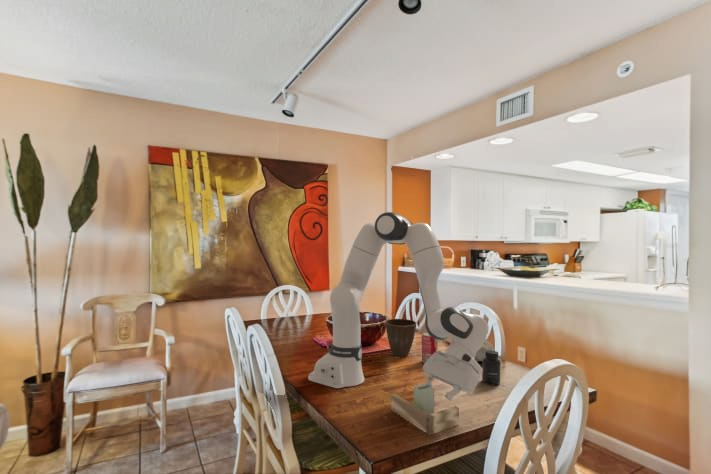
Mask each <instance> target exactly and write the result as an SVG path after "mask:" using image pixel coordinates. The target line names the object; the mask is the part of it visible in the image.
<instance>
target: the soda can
mask: <svg viewBox="0 0 711 474" xmlns="http://www.w3.org/2000/svg"><path fill="white" fill-rule="evenodd" d="M438 342H439V340H437V339H434V338H432V337H431V336H430V335H429V334H428V332H423V333H422V336H421V361H422V363H423V365H424V364H425V363H426V361H427V360H428V359H429V358H430V356H431V355H433V354H434V353H435V352H438V351H439V350H438V349H439V347H438Z"/></svg>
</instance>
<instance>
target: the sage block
mask: <svg viewBox="0 0 711 474" xmlns="http://www.w3.org/2000/svg"><path fill="white" fill-rule="evenodd" d="M413 405H415V406H416V407H418V408H420V409H421V410H423V411H425V412H427V413H428V414H433V413H435V388H434V387H433V386H432V387H431V386H429V385H426V383H423V384H417V385H414V386H413Z"/></svg>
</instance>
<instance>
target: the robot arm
mask: <svg viewBox="0 0 711 474" xmlns="http://www.w3.org/2000/svg"><path fill="white" fill-rule="evenodd" d="M386 244H389V245H406V246H407V249H408V251H409V254H410V256H411V259H412V264H413V266H414V271H415V274H416V278H417V283H418V287H419V288H418V289H419V291H420V296H421V299H422V303H423V308H424V315H425V320H424V325H425V326H424V327H425V330H426V333H428V334H429V335H430V336H431V337H432V338H434V339H437V340H438V341H443V340H446V339H448V338H449V339H450V340H451V342H450V344H449V345H448V347H447V349H446V351H445V352H443V351H441V350H438V352H435V353H434V354H433V355H431V356H430V358H429V359H428V360H427V361H426V363H425V364H424V363H423V365H422V371H423V373H425V374H426V382H425V384H426V385H429V386H431V387H432V388H433V385H432V381H434V380H439V381H440V382H442V383H444V384H446V385H449V386H450V387H451V386H452V389H451V390H450V391H446V393H445V395H444V398H446V399H447V400H448V401H452V400H453V399H454V397H455V396H458V394H460V393H461V392H465V393H466V394H472V392H474V390H475V389H476V387H477V384H478V382H479V379H480V375H482V372H483V370H482V366H481V365H480V364H479V363H478V361H475V360H474V358H475V356H476V352H477V351H478V350H479V349H480V348H481V346H482V345H483V343H484V341H485V339H486V340H487V336H488V333H489V324H488V323H487V321H486V320H485V318H484V317H482V316H481V315H479V314H476V313H468V312H465V311H462V310H461V309H459V308H457V307H456V306H449V307H445V308H443V306H442V302H441V298H440V295H439V292H438V280H439V277H440V275H441V273H442V272H443V269H444V267H445V259H444V254H443V251H442V248H441V245H440V243H439V241H438V238H437V237H436V233H434V230H433V229H432V227H431V226H430V225H429V224H428V223H425V222H417V223H412V222H411V221H410V220H409V219H407V218H406V217H405V216H404V215H400V214H397V213H395V212H390V211H387V212H383V213H381V214H380V215H378V216H377V218H376V220H375V221H374V223H372V222H371V223H366V224H365V223H364V225H363V226H362V228H360V230H359V232H358V234H357V236H356V237H355V239H354V241H353V244H352V246H351V249H350V250H349V254H348V256H347V259H346V261H345V263H344V267H343V271H342V273H341V276H340V278H339V279H340V280H339V283H338V284H337V285H336V286H335V287H334V288H332V289H331V293H330V295H329V296H330V297H329V302H330V310H331V311H330V313H331V318H332V341H331V343H330V344H328V346H327V347H326V350H328V352H327V353H326V354H324V355H323V356H321V358H319V359H318V360H317V361H316V362H315V363H314V364H315V365H314V369H313V371H311V372H310V373H309V374H308V377H307V380H308V381H310V382H313V383H316V384H320V385H323V386H327V387H331V388H334V389H341V388H346V387H347V388H348V387H355V386H358V385H361V384H362V383H364V382H365V380H366V379H365V376H364V373H363V366H362V356H363V347H362V343H361V341H362V338H361V335H362V334H361V333H362V332H361V331H362V330H361V329H362V326H361V325H362V324H361V317H360V315H361V314H360V302H361V301H362V299H363V296H364V295H365V294H364V293H365V291H366V289H367V287H368V283H369V280H370V277H371V275H372V272H373V270H374V268H375V265H376V262H377V260H378V258H379V255H380V253H381V250H382V248H383V247H384V245H386Z"/></svg>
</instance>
